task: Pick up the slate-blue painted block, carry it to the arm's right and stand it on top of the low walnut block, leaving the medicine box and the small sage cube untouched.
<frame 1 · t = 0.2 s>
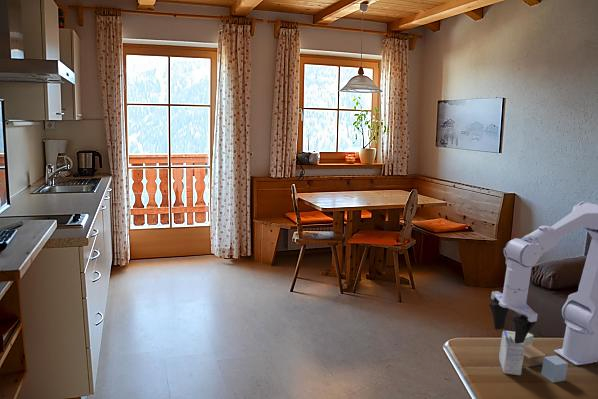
hand: (508, 335, 136), 10 cm above the table, tool pointing down, fingers open, 7 cm apart
sage cube: (521, 346, 153), on the table
medicine box: (509, 367, 140), on the table
slate block: (552, 377, 137), on the table
walnut block: (527, 360, 145), on the table
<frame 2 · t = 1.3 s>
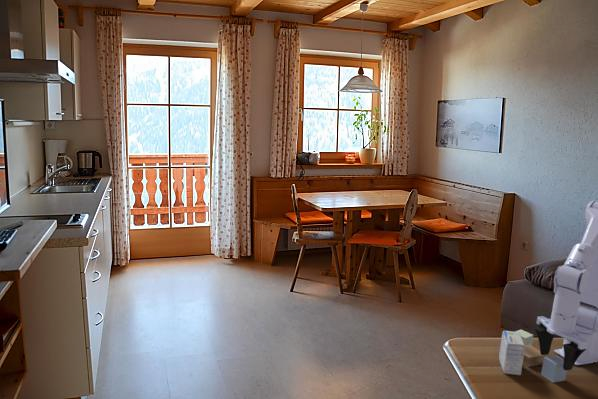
hand: (555, 361, 135), 5 cm above the table, tool pointing down, fingers open, 7 cm apart
nothing on the table moved.
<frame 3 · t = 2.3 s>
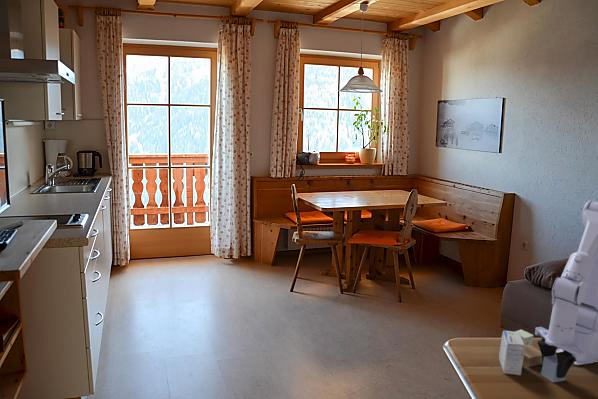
hand: (553, 372, 136), 1 cm above the table, tool pointing down, fingers closed on slate block, 4 cm apart
slate block: (552, 377, 137), on the table, touching gripper
everything else where it was.
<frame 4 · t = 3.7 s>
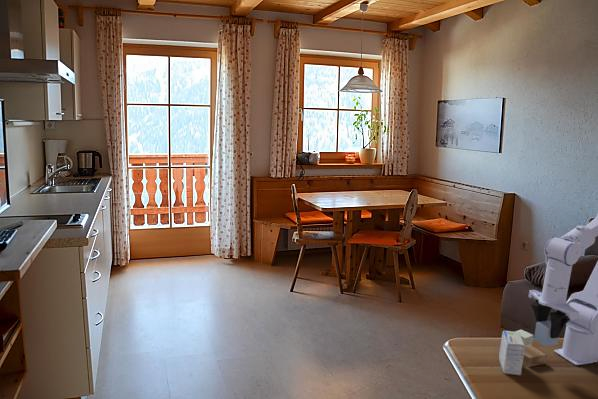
hand: (547, 333, 138), 10 cm above the table, tool pointing down, fingers closed on slate block, 4 cm apart
slate block: (545, 342, 138), point 8 cm above the table, touching gripper
everything else where it was.
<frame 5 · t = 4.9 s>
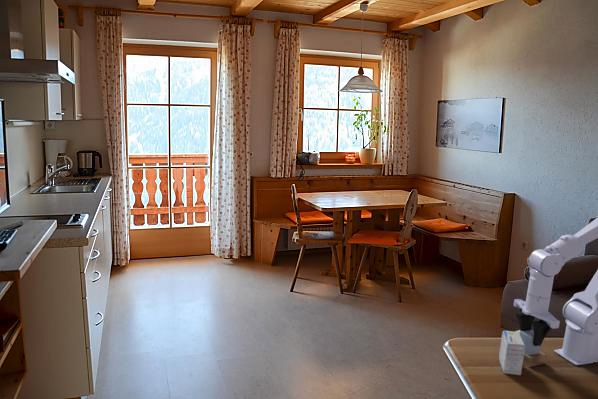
hand: (530, 341, 144), 6 cm above the table, tool pointing down, fingers closed on slate block, 4 cm apart
slate block: (528, 350, 144), point 3 cm above the table, touching gripper
everything else where it was.
when the fingers open (5 cm above the table, at t = 5.4 s): slate block stays where it is, resting on walnut block.
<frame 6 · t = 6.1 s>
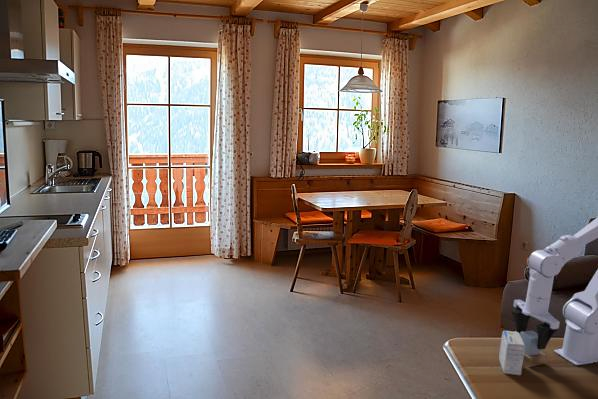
hand: (530, 341, 144), 5 cm above the table, tool pointing down, fingers open, 7 cm apart
slate block: (528, 351, 144), point 3 cm above the table, touching walnut block
walnut block: (527, 361, 145), on the table, touching slate block
everything else where it was.
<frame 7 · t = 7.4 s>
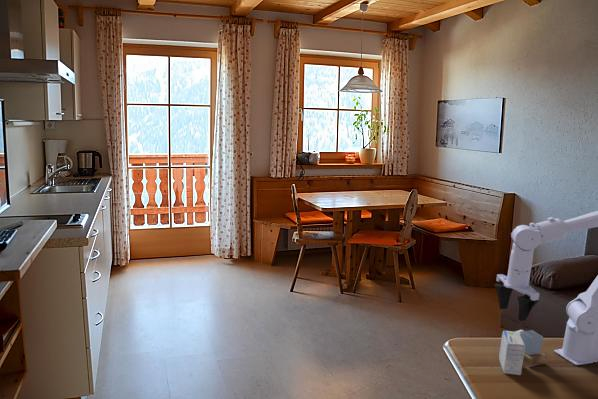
hand: (512, 314, 149), 10 cm above the table, tool pointing down, fingers open, 7 cm apart
nothing on the table moved.
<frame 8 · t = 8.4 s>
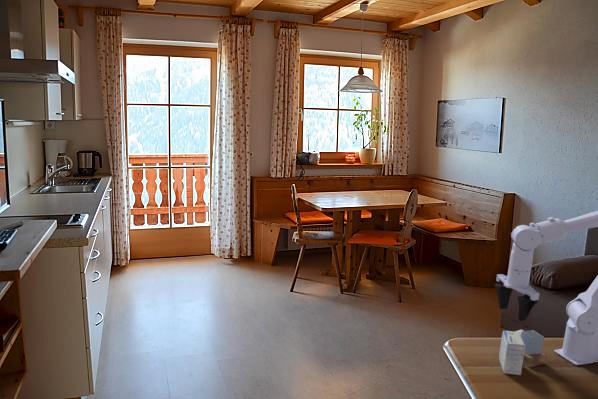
hand: (512, 314, 149), 10 cm above the table, tool pointing down, fingers open, 7 cm apart
nothing on the table moved.
at the end: slate block 0.3 cm off-centre on the walnut block, point 3.0 cm above the walnut block's base; slate block tilted 0°; the gripper is holding nothing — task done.
